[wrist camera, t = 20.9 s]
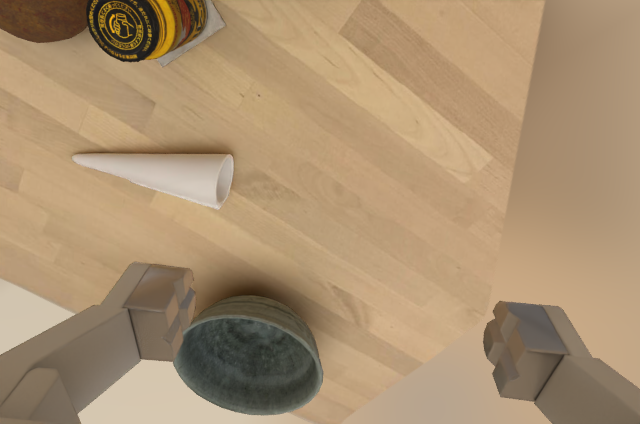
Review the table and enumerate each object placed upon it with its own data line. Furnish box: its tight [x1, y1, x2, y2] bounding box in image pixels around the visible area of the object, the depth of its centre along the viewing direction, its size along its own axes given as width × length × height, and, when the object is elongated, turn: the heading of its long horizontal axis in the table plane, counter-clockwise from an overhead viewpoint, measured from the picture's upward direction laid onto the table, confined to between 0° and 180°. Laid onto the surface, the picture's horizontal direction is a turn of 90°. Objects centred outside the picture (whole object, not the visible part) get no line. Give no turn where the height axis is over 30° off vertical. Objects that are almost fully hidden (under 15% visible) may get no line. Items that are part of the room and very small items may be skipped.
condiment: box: [86, 0, 225, 67], centre depth 34 cm, size 7×8×12 cm
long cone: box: [72, 153, 234, 210], centre depth 46 cm, size 6×6×19 cm
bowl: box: [173, 295, 323, 415], centre depth 58 cm, size 21×21×10 cm
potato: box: [0, 0, 88, 43], centre depth 37 cm, size 7×12×7 cm, turn 87°
